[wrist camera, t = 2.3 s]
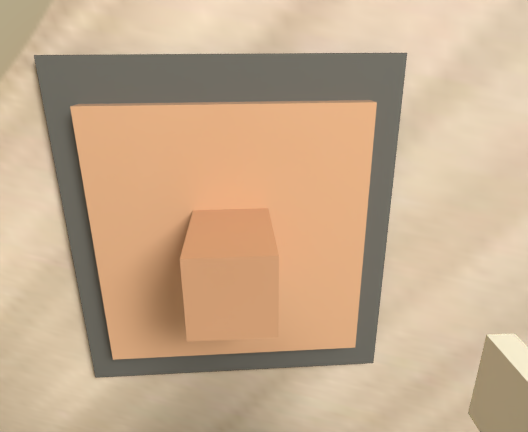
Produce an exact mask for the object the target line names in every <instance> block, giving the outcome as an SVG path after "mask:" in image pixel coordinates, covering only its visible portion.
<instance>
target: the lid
mask: <svg viewBox="0 0 528 432" xmlns="http://www.w3.org/2000/svg"><path fill="white" fill-rule="evenodd" d="M376 107H377V102H374V101H371V100H338V101H263V102H188V103H113V104H77V105H73V106H70V109H71V115H72V121H73V127H74V133H75V138H76V144H77V150H78V156H79V162H80V168H81V174H82V180H83V186H84V192H85V197H86V203H87V209H88V215H89V221H90V227H91V233H92V239H93V245H94V251H95V257H96V262H97V268H98V274H99V280H100V286H101V292H102V298H103V304H104V310H105V316H106V321H107V327H108V333H109V339H110V345H111V351H112V357H113V360H115V359H135V358H155V357H175V356H195V355H216V354H236V353H256V352H276V351H296V350H316V349H336V348H355V345H356V334H357V322H358V311H359V300H360V288H361V277H362V266H363V254H364V243H365V232H366V220H367V209H368V198H369V186H370V175H371V164H372V152H373V141H374V130H375V118H376Z"/></svg>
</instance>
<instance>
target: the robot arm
mask: <svg viewBox="0 0 528 432" xmlns="http://www.w3.org/2000/svg"><path fill="white" fill-rule="evenodd" d="M468 414H469V415H470V417H471V418H472V420H473V422H474V423H475V425H476V426H477V428H478V429H479V431H480V432H528V347H527V346H526V345H525V344H524V343H523V342H522V341H521V340H520V339H519V338H518V337H517V336H516V335H515V334H490V335H486V339H485V343H484V348H483V352H482V356H481V360H480V365H479V369H478V373H477V378H476V382H475V386H474V390H473V395H472V399H471V403H470V408H469V412H468Z"/></svg>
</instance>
